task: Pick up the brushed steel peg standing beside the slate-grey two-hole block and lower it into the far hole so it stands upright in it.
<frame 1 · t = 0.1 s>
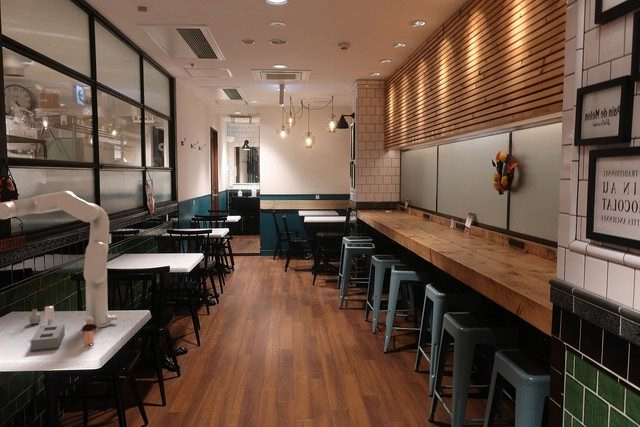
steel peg: (50, 332, 230), on the table
reed diffuser: (32, 324, 243), on the table
hole block: (48, 343, 215), on the table
grandmother figurine: (90, 345, 214), on the table
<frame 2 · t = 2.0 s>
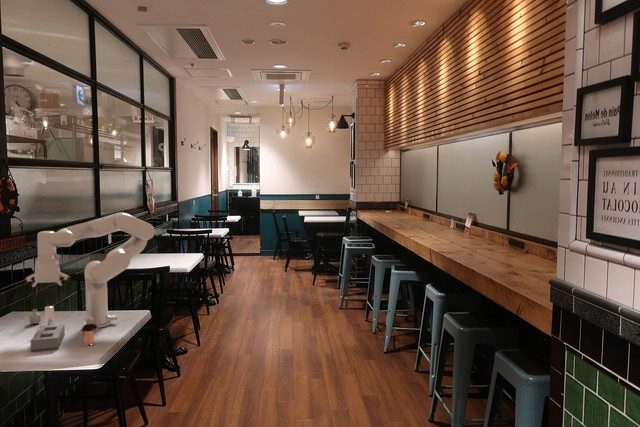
hand: (47, 294, 229), 18 cm above the table, tool pointing down, fingers open, 9 cm apart
nothing on the table moved.
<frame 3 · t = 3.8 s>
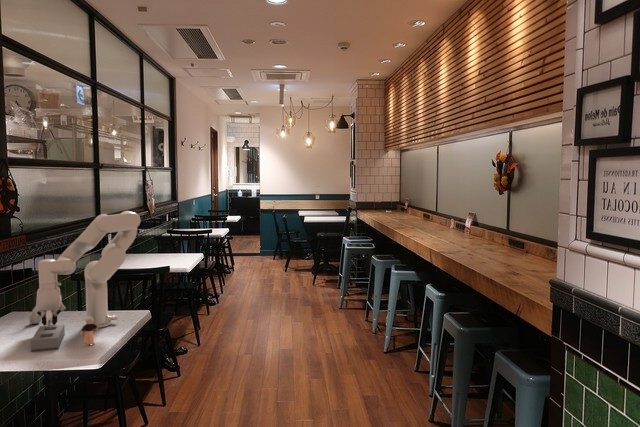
hand: (49, 324, 230), 4 cm above the table, tool pointing down, fingers closed on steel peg, 3 cm apart
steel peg: (50, 332, 230), on the table, touching gripper
everything else where it was.
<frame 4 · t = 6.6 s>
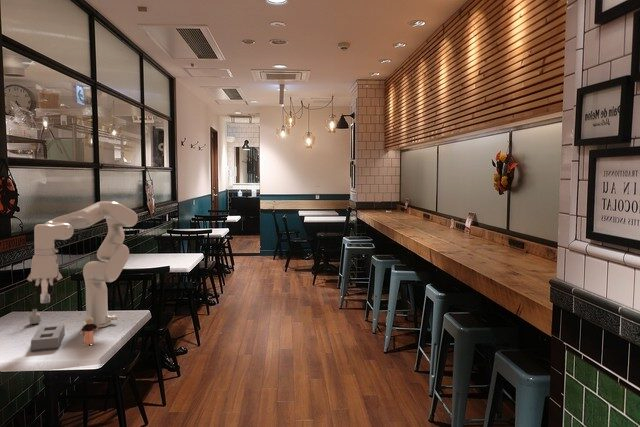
hand: (45, 293, 214), 22 cm above the table, tool pointing down, fingers closed on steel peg, 3 cm apart
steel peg: (45, 302, 215), point 18 cm above the table, touching gripper
everything else where it was.
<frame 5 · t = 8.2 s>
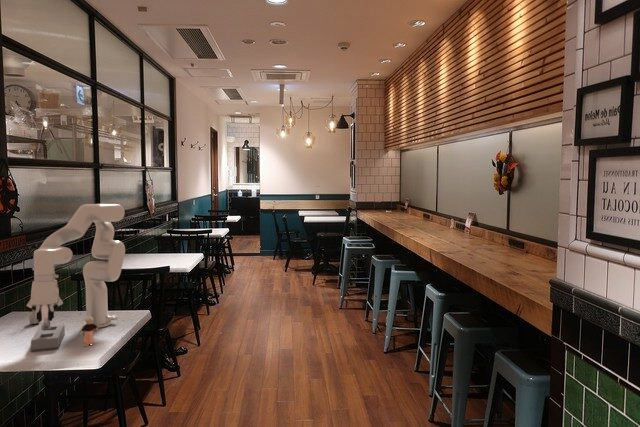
hand: (45, 320, 209), 12 cm above the table, tool pointing down, fingers closed on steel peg, 3 cm apart
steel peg: (45, 328, 210), point 8 cm above the table, touching gripper
everything else where it was.
when the fingers open (6 cm above the table, at t = 9.6 s): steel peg drops 1 cm, resting on hole block.
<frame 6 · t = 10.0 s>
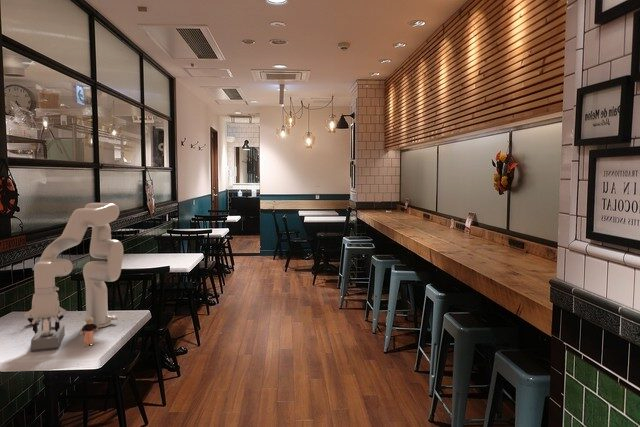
hand: (46, 331, 210), 7 cm above the table, tool pointing down, fingers open, 7 cm apart
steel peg: (46, 344, 211), point 1 cm above the table, touching hole block
everything else where it was.
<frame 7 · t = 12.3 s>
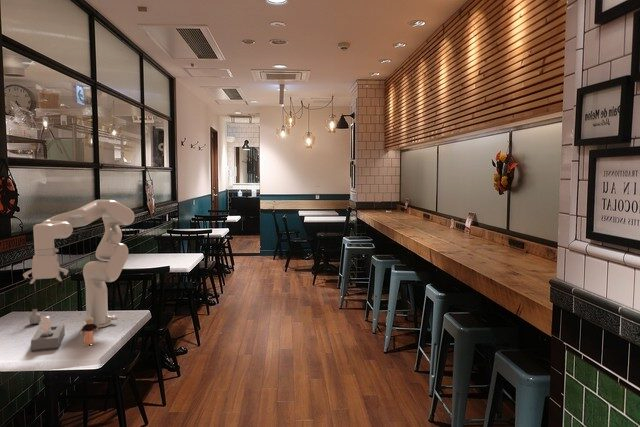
hand: (47, 291, 213), 23 cm above the table, tool pointing down, fingers open, 9 cm apart
nothing on the table moved.
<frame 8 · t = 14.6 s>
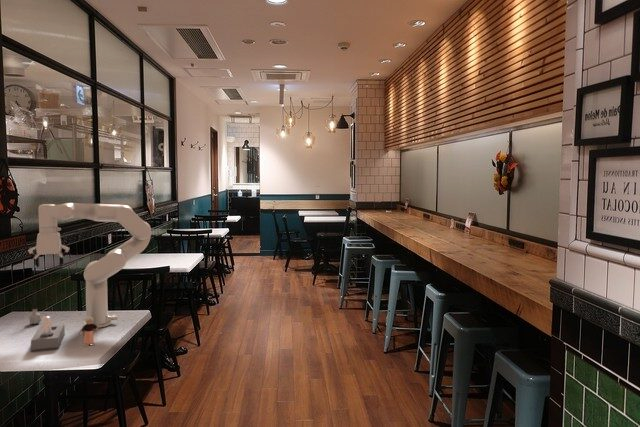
hand: (49, 266, 233), 30 cm above the table, tool pointing down, fingers open, 9 cm apart
nothing on the table moved.
at the end: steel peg 0.0 cm from the target spot on the hole block, point 1.0 cm above the hole block's base; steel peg tilted 1°; the gripper is holding nothing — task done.
